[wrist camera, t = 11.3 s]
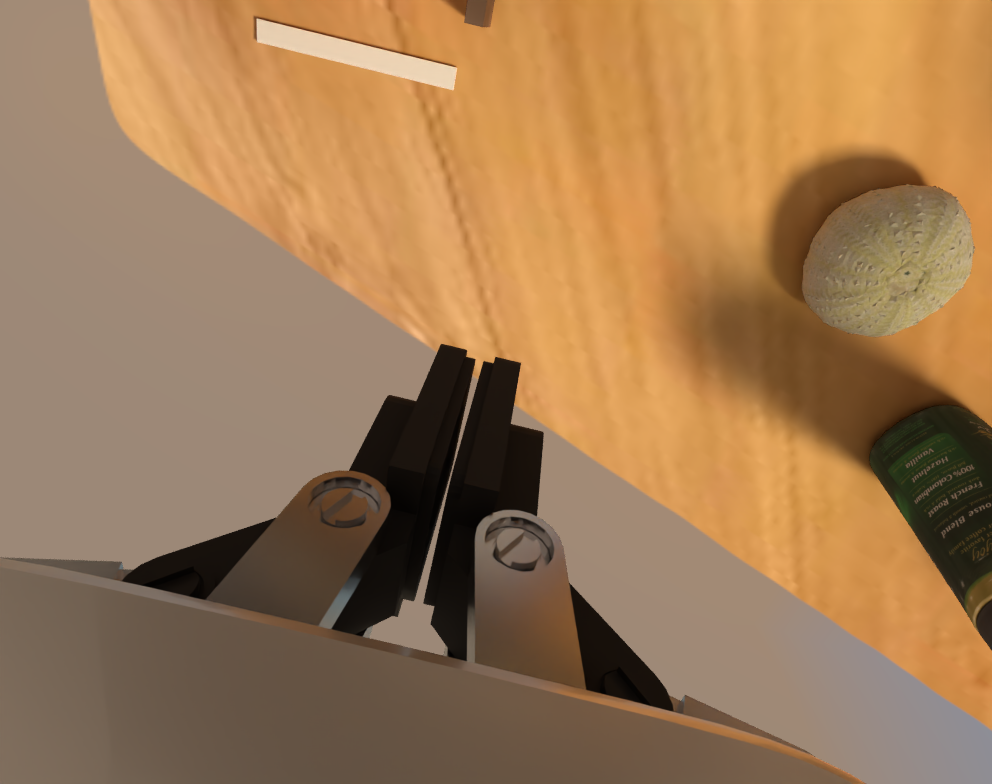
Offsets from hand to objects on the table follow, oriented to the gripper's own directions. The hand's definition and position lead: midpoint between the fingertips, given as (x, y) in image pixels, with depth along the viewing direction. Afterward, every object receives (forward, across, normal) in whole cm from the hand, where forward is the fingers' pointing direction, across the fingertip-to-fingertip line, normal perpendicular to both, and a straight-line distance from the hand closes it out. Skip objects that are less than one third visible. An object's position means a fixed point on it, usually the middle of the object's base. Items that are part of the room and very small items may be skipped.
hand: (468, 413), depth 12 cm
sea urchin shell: (+30, -22, +1) cm, 37 cm away
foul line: (+29, +12, -3) cm, 32 cm away
